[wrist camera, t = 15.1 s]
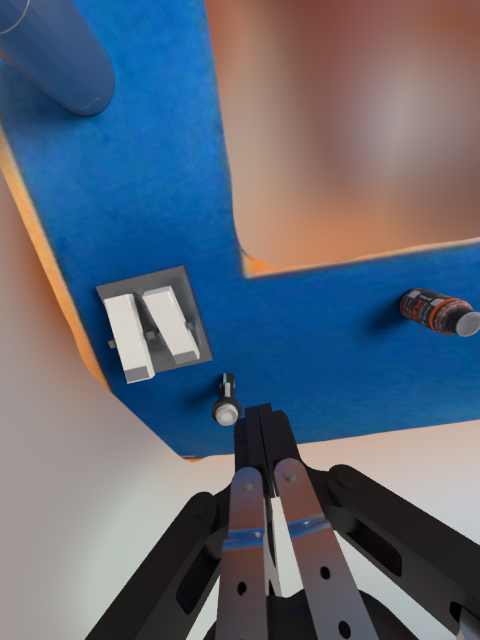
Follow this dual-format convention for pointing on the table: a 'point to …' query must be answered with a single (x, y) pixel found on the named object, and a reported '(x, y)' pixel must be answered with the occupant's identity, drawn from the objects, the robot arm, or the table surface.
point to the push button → (227, 403)
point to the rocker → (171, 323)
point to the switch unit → (153, 337)
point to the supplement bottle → (440, 312)
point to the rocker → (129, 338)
